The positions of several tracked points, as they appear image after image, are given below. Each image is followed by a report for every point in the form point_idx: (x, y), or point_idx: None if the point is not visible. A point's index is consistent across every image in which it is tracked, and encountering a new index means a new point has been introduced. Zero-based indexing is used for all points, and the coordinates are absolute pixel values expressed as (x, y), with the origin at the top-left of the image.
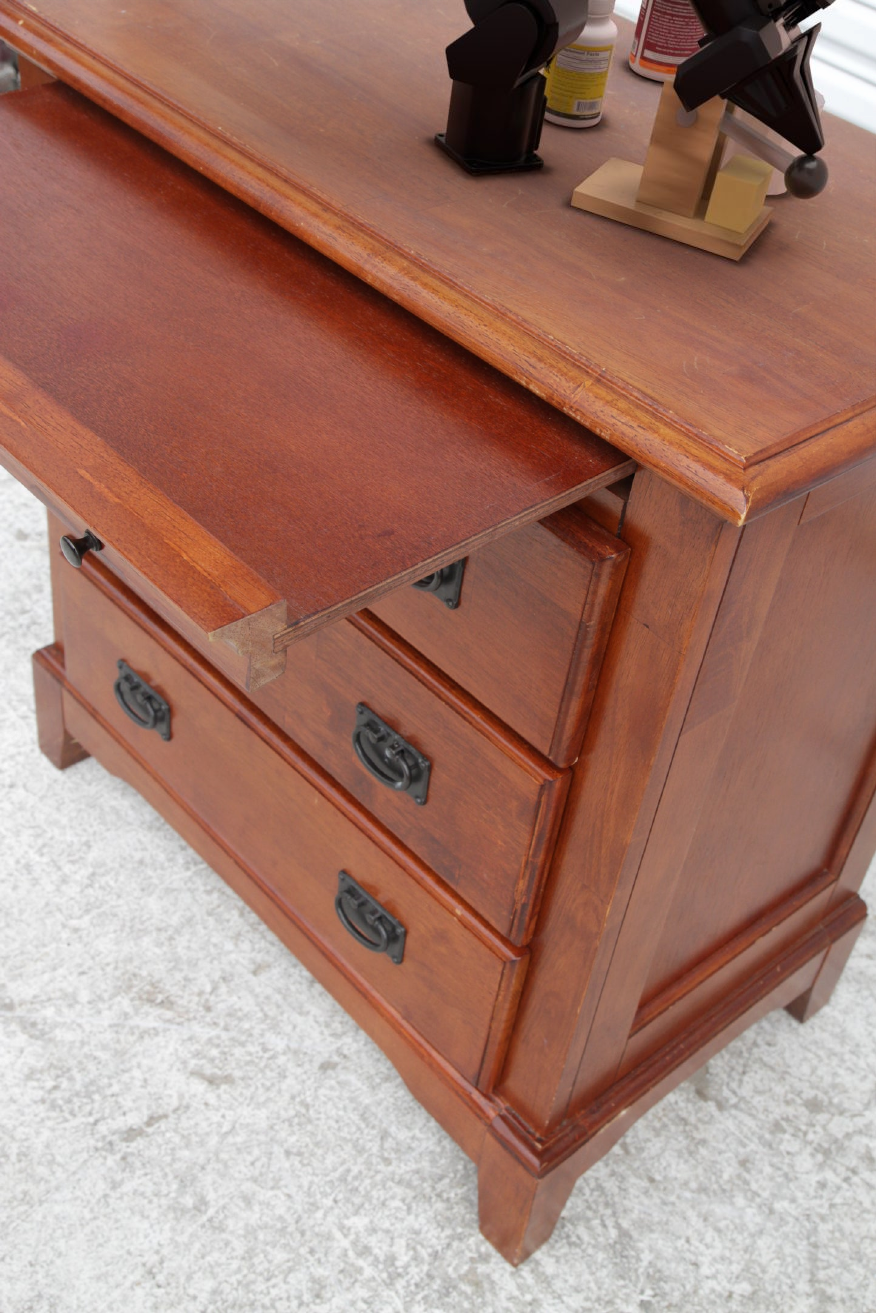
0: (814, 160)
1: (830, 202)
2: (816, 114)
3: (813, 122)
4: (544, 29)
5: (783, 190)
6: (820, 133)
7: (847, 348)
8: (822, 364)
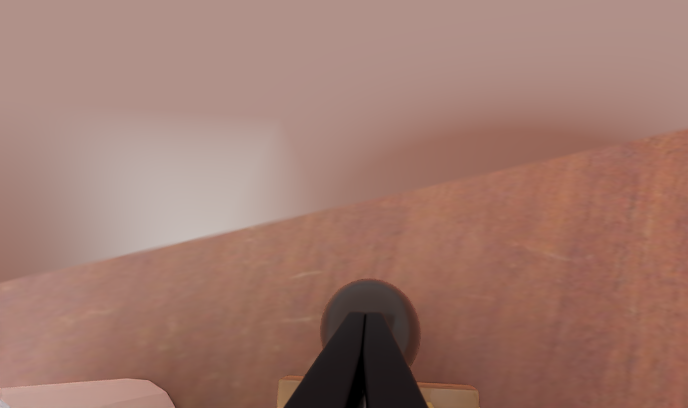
0: (387, 320)
1: (145, 302)
2: (339, 374)
3: (401, 367)
4: None
5: (150, 384)
6: (360, 332)
7: (602, 170)
8: (681, 186)
